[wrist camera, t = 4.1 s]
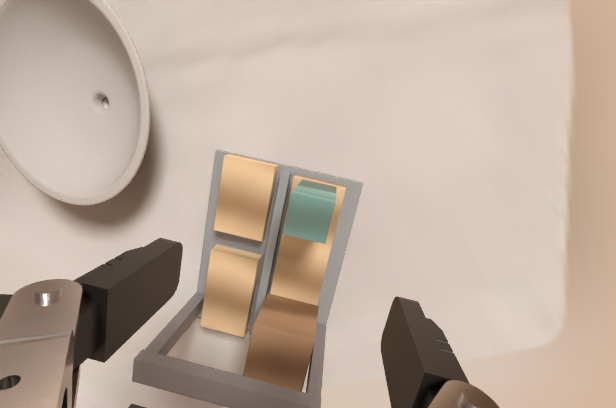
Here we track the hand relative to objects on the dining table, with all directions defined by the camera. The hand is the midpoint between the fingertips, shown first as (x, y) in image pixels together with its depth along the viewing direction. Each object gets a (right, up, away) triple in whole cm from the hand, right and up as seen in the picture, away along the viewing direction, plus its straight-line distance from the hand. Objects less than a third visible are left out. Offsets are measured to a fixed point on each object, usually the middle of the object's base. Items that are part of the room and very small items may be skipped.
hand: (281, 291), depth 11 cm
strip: (0, -3, +19) cm, 19 cm away
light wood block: (-4, +4, +18) cm, 19 cm away
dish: (-18, +13, +18) cm, 28 cm away
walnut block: (-1, -8, +18) cm, 20 cm away
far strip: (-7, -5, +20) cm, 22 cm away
